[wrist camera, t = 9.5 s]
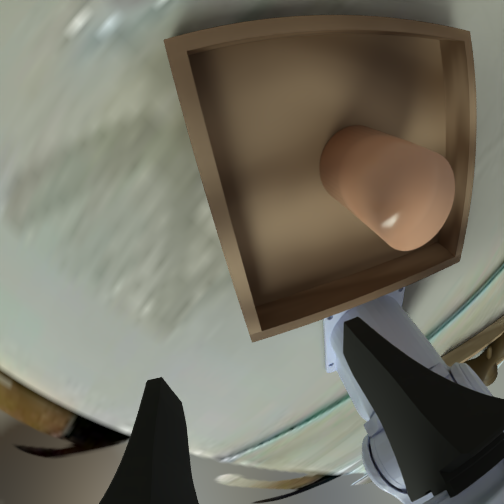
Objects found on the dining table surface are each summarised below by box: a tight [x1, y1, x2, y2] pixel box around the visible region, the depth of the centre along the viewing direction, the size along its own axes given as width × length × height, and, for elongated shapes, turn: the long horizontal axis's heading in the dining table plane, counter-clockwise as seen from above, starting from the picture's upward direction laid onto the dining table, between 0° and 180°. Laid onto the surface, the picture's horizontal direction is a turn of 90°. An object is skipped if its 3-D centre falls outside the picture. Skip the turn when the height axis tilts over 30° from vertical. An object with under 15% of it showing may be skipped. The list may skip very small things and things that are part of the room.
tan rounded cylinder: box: [320, 125, 455, 251], centre depth 15 cm, size 5×5×6 cm
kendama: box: [464, 333, 504, 386], centre depth 39 cm, size 6×10×20 cm
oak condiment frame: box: [441, 316, 504, 367], centre depth 41 cm, size 17×27×2 cm, turn 102°
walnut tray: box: [164, 15, 476, 342], centre depth 17 cm, size 18×18×3 cm
